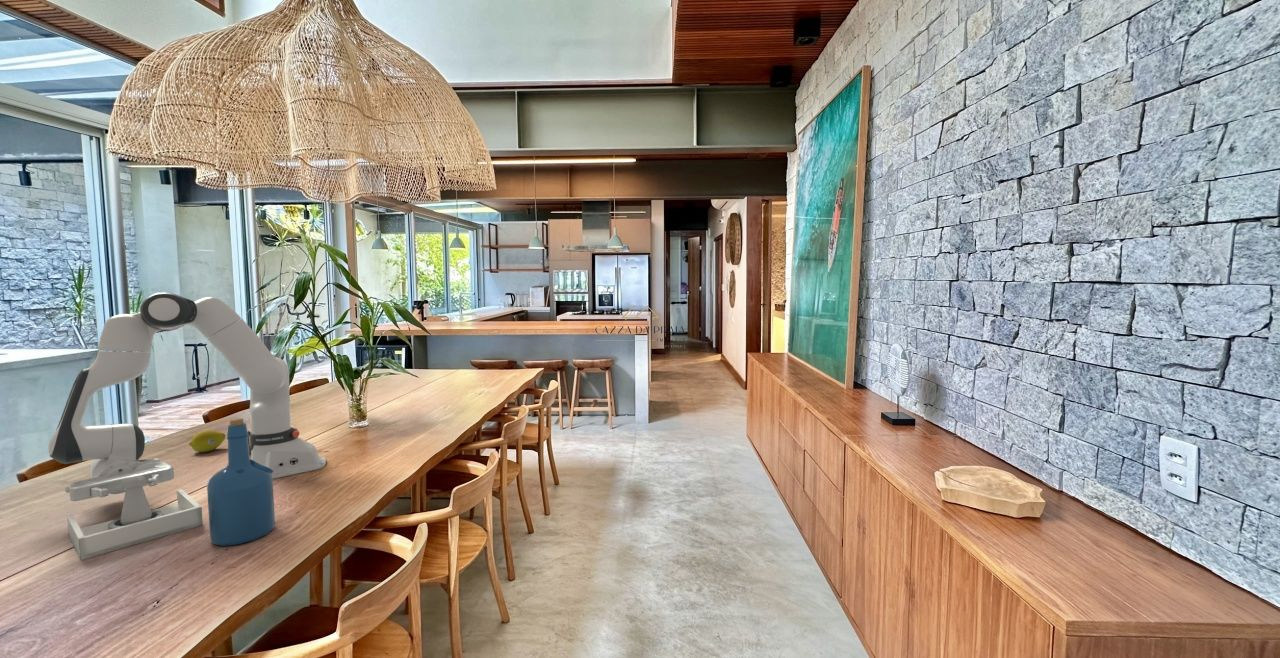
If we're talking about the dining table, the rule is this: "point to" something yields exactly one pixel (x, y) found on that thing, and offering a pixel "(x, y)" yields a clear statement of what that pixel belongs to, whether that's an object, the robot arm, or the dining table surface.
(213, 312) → the robot arm
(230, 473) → the wine bottle
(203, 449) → the lemon
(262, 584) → the dining table surface
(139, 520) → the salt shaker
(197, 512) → the box
